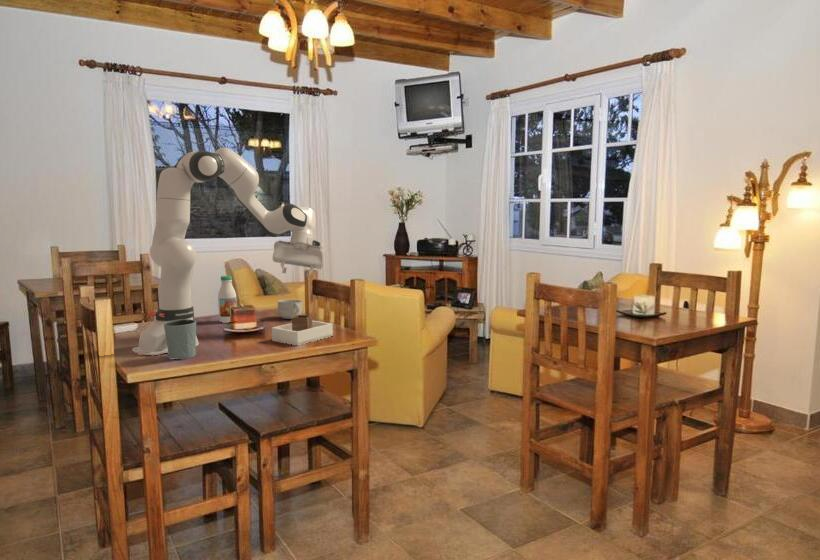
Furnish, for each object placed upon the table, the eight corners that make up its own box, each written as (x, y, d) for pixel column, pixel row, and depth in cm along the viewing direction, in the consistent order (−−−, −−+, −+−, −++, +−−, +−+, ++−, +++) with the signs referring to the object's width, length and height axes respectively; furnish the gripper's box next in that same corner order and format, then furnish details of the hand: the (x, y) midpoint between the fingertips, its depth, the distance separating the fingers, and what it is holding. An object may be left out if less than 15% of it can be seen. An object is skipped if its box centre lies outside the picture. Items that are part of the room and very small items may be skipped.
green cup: (201, 352, 207) (199, 318, 205) (192, 360, 197) (190, 325, 195) (172, 353, 206) (169, 319, 205) (161, 361, 196) (159, 325, 195)
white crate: (297, 345, 215) (297, 332, 215) (272, 340, 224) (271, 327, 223) (332, 336, 230) (332, 323, 229) (307, 331, 238) (307, 319, 237)
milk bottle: (215, 322, 259) (212, 276, 256) (228, 319, 265) (226, 274, 263) (228, 324, 255) (226, 277, 252) (241, 320, 262) (239, 275, 259)
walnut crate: (307, 338, 223) (307, 318, 222) (292, 337, 224) (291, 318, 223) (312, 334, 229) (312, 315, 228) (297, 334, 230) (297, 314, 229)
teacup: (275, 317, 269) (275, 299, 268) (299, 314, 274) (298, 297, 273) (282, 322, 257) (282, 304, 256) (307, 320, 261) (306, 302, 260)
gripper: (275, 235, 236) (269, 266, 230) (326, 244, 240) (322, 274, 233) (274, 243, 242) (269, 273, 235) (325, 251, 245) (320, 281, 239)
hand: (296, 274), depth 234 cm, fingers open, 8 cm apart
